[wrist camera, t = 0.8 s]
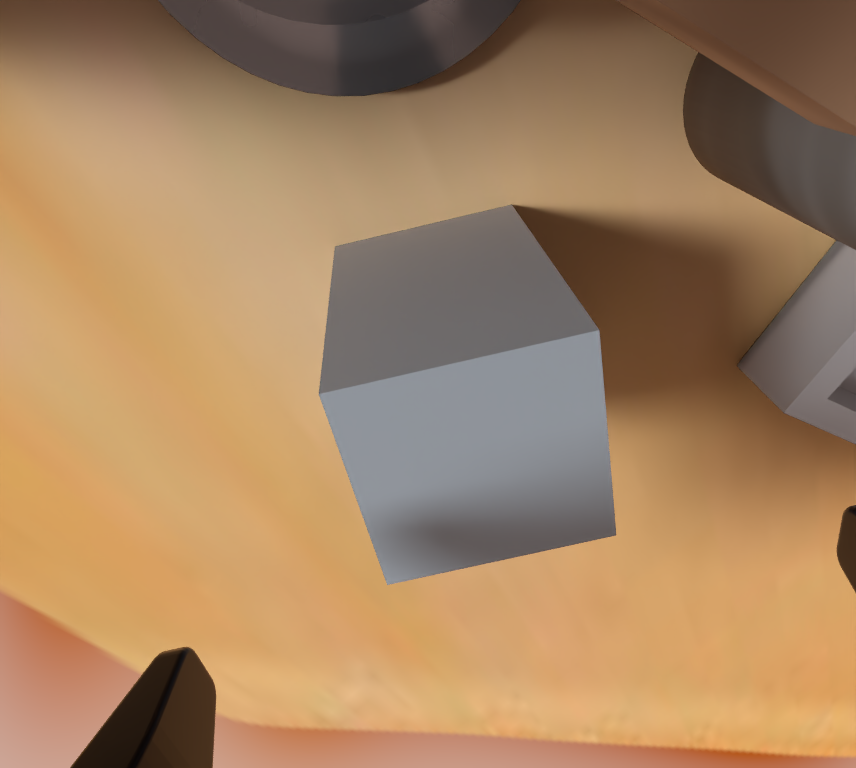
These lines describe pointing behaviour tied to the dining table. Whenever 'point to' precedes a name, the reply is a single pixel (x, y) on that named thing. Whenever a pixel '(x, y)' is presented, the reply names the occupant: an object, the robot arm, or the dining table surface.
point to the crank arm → (773, 100)
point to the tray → (813, 348)
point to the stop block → (465, 396)
